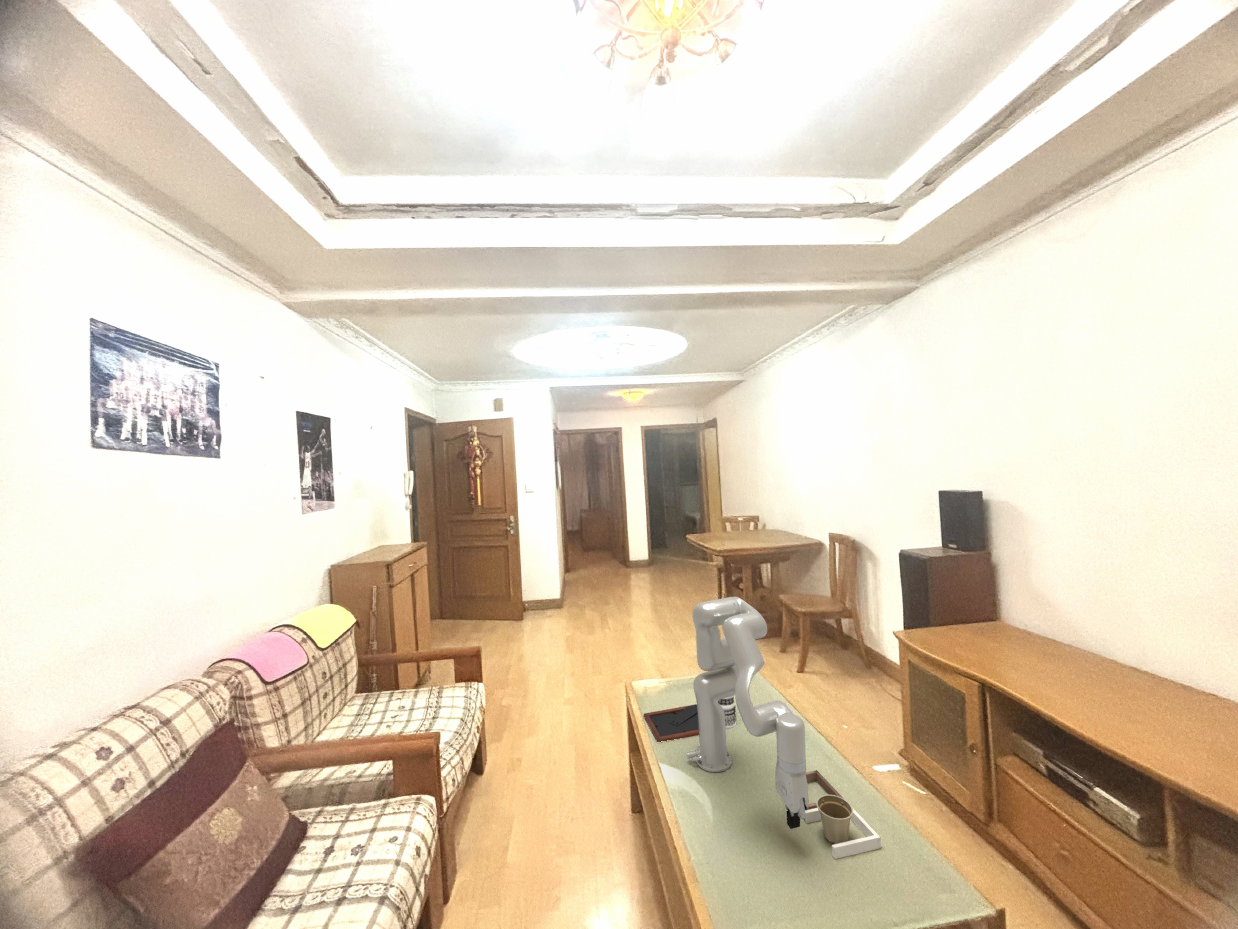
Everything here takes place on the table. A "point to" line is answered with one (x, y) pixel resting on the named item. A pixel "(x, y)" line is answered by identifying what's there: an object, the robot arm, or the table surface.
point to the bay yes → (852, 846)
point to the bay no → (817, 777)
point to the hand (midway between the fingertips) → (793, 825)
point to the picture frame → (673, 723)
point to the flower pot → (835, 817)
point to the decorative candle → (729, 711)
